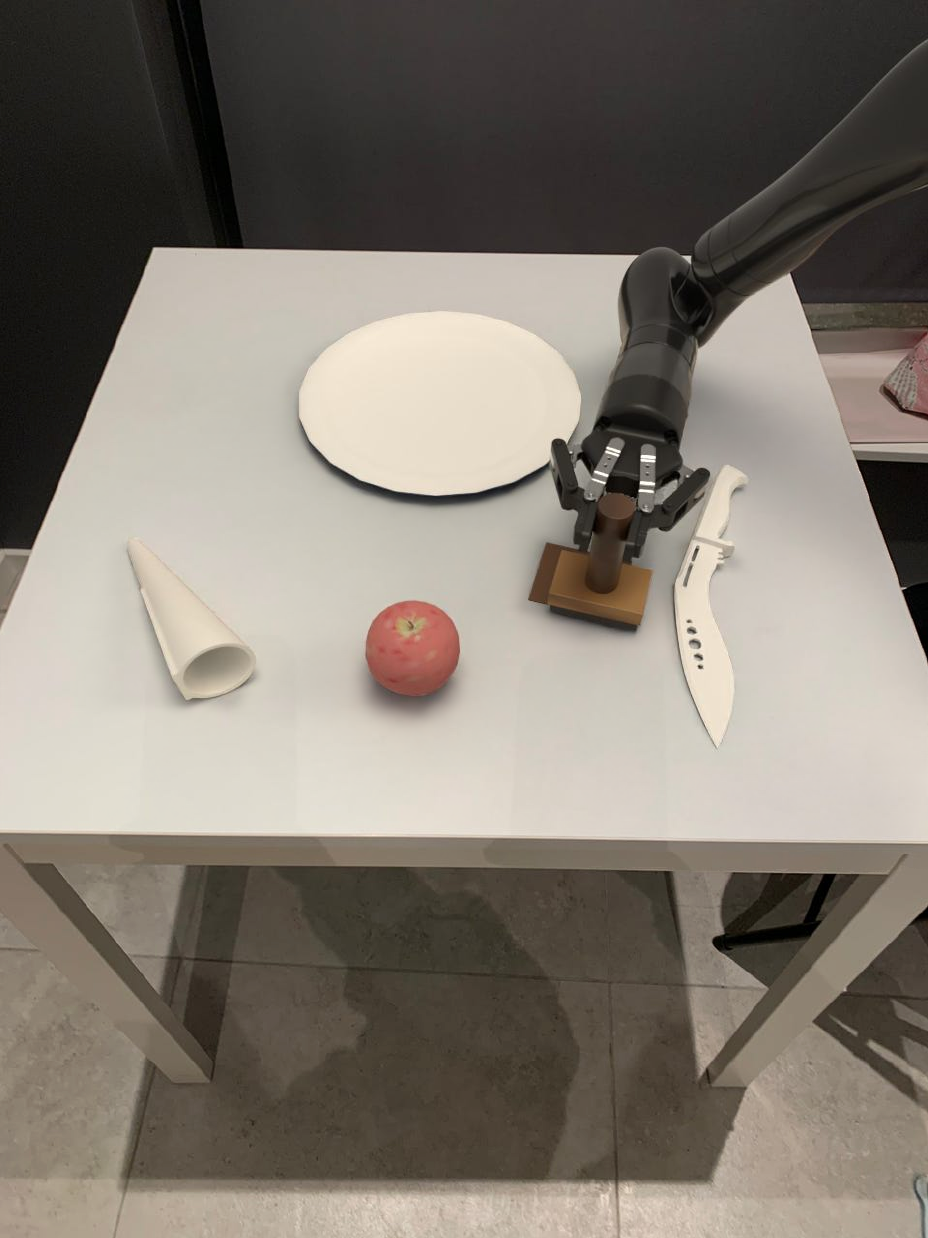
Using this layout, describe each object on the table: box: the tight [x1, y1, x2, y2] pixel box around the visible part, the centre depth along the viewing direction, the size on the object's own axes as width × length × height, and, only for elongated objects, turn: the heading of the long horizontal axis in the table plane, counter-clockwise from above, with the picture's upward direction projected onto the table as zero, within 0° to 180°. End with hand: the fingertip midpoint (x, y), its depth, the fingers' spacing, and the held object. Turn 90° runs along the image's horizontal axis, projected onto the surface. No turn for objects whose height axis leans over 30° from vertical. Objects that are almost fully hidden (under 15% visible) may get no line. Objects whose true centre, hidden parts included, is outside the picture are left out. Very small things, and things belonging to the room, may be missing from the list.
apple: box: [365, 599, 461, 697], centre depth 73 cm, size 7×7×8 cm
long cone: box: [126, 536, 257, 701], centre depth 79 cm, size 6×6×19 cm
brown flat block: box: [527, 541, 633, 605], centre depth 83 cm, size 8×7×1 cm
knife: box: [673, 464, 749, 749], centre depth 81 cm, size 30×2×8 cm
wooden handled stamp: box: [546, 493, 654, 632], centre depth 76 cm, size 8×5×12 cm, turn 74°
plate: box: [298, 310, 582, 498], centre depth 97 cm, size 29×29×2 cm
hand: (606, 549), depth 71 cm, fingers closed on wooden handled stamp, 3 cm apart
